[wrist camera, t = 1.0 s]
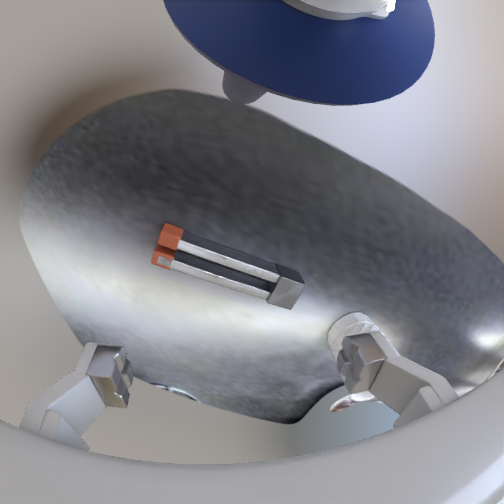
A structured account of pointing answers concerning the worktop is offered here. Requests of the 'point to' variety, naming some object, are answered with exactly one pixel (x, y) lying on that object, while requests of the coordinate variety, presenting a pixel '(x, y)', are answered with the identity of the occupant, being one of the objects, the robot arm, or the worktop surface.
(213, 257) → the tongs
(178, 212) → the worktop surface
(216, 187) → the worktop surface
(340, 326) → the white cup
